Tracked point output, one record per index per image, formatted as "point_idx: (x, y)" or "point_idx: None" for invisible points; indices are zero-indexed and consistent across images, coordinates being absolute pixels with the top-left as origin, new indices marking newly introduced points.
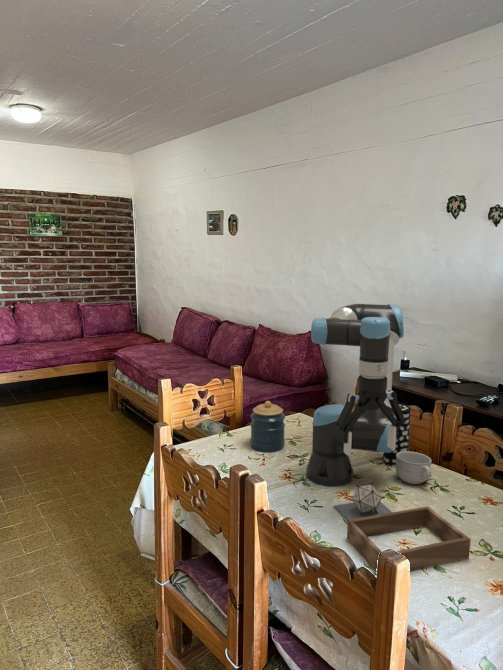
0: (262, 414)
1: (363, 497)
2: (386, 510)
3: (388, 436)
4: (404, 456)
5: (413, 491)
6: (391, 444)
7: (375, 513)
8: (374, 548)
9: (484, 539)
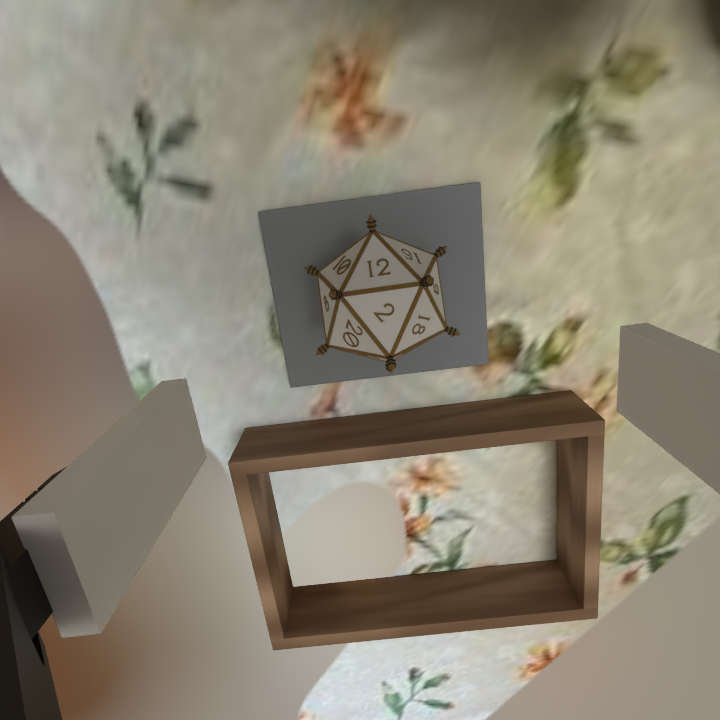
0: None
1: (346, 345)
2: (468, 292)
3: (689, 377)
4: None
5: (704, 122)
6: (643, 408)
7: None
8: (265, 614)
9: (691, 500)
